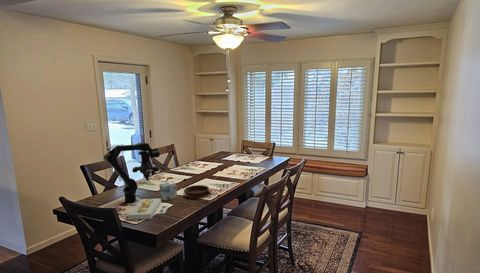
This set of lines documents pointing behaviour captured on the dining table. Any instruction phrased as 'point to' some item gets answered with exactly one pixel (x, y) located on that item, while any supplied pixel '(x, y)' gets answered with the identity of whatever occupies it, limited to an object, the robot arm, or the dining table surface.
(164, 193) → the light bulb box
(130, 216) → the board
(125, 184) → the robot arm
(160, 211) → the card
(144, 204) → the button
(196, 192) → the dish
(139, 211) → the button
